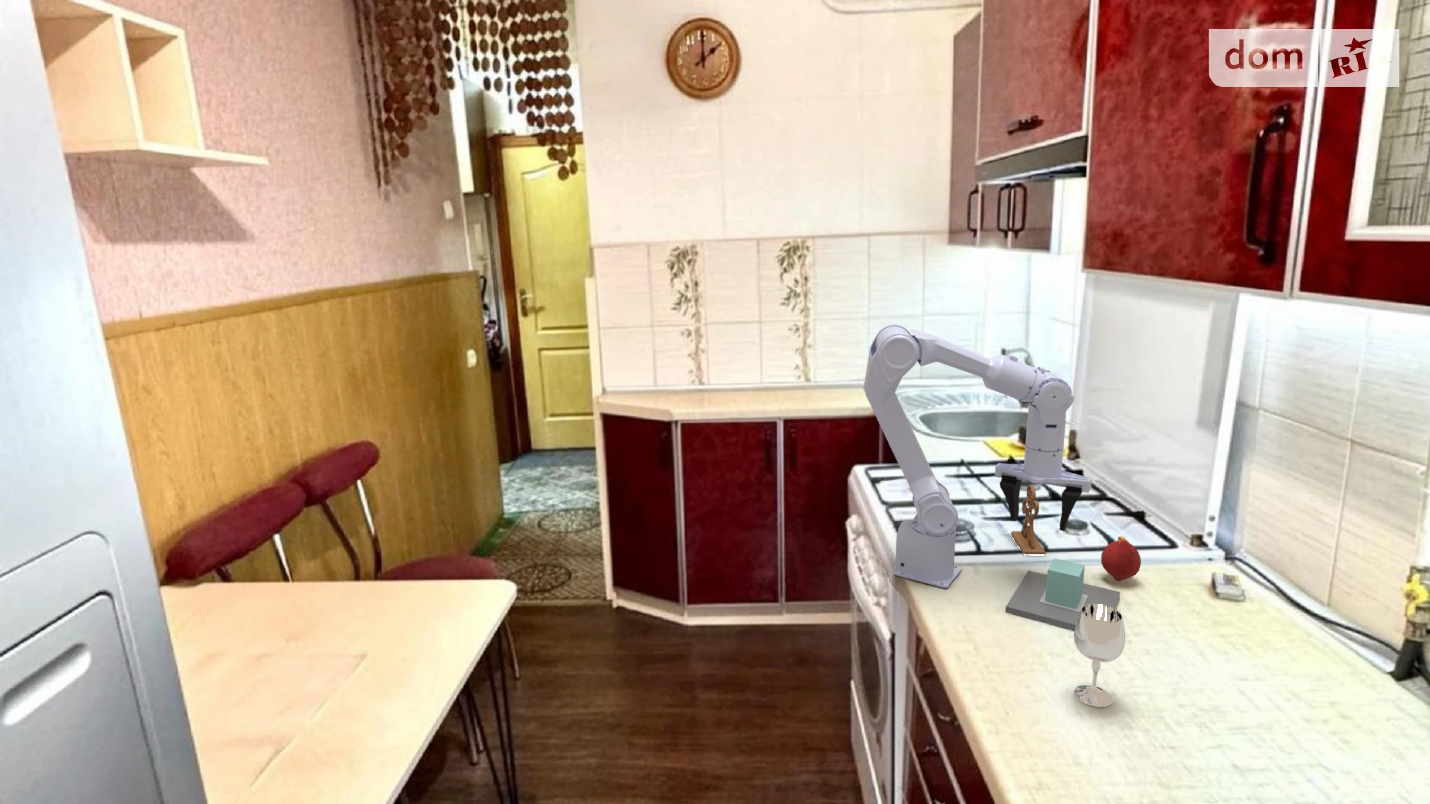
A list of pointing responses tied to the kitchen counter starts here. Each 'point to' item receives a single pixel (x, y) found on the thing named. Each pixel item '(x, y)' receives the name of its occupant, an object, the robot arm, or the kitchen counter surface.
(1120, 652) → the wineglass
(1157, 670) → the kitchen counter surface
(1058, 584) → the block
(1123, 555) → the onion
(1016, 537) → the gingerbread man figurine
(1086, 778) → the kitchen counter surface
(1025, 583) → the tile
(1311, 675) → the kitchen counter surface
